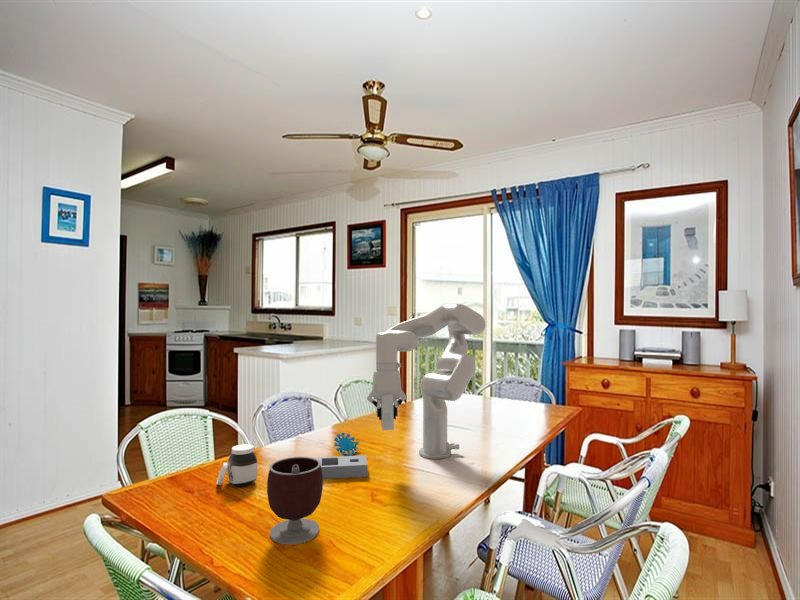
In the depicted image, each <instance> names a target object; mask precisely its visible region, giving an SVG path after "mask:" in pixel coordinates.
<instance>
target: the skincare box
mask: <svg viewBox="0 0 800 600" xmlns="http://www.w3.org/2000/svg"><path fill="white" fill-rule="evenodd" d="M393 405H394V402H393V395H384V396H382V400H381V405H380V406H381V409H382V419H381V420H380V423H381V424H380V425H381V430H382V431H390V430H391V431H393V430H394V429H395V426H394V425H395V423H394V422H395V421H394V420H395V419H394V412H393Z"/></svg>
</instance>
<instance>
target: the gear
mask: <svg viewBox="0 0 800 600" xmlns="http://www.w3.org/2000/svg"><path fill="white" fill-rule="evenodd" d="M345 435H346V436H345ZM350 437H351V438H350ZM355 440H356V439H355V437H354V436H351V433H347V434H346V432H341V433H337V434H336V437H335V438H334V439H333V441H334V444H333V445H334V447H337V448H336V451H337V452H338V453H339V452H341V456H345V454H346V456H354V455H355V453H356V451H357V450H358V445H359V444H360V441H359V440H357V441H355ZM346 452H347V453H346Z"/></svg>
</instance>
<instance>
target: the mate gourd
mask: <svg viewBox="0 0 800 600" xmlns="http://www.w3.org/2000/svg"><path fill="white" fill-rule="evenodd" d="M266 480H267V481H266V482H267V483H266V494H267V500H268V505H269V508H270V510H271V511H272V512H273V513H274V515H275V516H276V517H277V518H279V519H282V520H284V521H281V522H278V523H277V524H275V525H274V526H273V527H272V528H271V529H270V531H269V536H270V537H269V538H270V539H271V541H273V542H274V541H275V543H276V542H277V544H279V543H280V545H284V544H287V545H286V546H288V544H289V546H291V545H290V544H294V545H300V544H299V543H301V544H304V543H306V541H307V542H309V541H308V540H310V541H311V540H314V539H315V538H316V537H317V536H318V535H319V533H320V525H319V523H318V522H317V521H315V520H312V519H309V518H307V517H309V516H311V515H312V514H313V513H314V512H315V511H316V509H317V508H318V506H319V505H320V503H321V500H322V495H323V487H324V484H323V483H324V479H323V475H322V469H321V463H320V461H319V460H318V458H317V459H316V458H314V457H310V456H293V457H291V456H290V457H285V458H281V459H278V460H276V461H274V462H272V463H270V465H269V470H268V475H267V479H266ZM317 534H318V535H317ZM316 535H317V536H316ZM315 536H316V537H315ZM314 537H315V538H314ZM303 542H304V543H303Z"/></svg>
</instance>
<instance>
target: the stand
mask: <svg viewBox="0 0 800 600" xmlns="http://www.w3.org/2000/svg"><path fill="white" fill-rule="evenodd" d="M317 460H319V461H320V463H321V469H322V475H323V480H328V479H329V480H331V478H332V479H347V478H348V479H349V477H352V478H366V477H367V476H368V474H369V473H368V472H369V471H368V466H369V465H368V460H367V456H366V454H365V455H350V456H347V455H341V456H322V457H321V456H320V457H319V456H318V457H317ZM367 478H368V477H367Z"/></svg>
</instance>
